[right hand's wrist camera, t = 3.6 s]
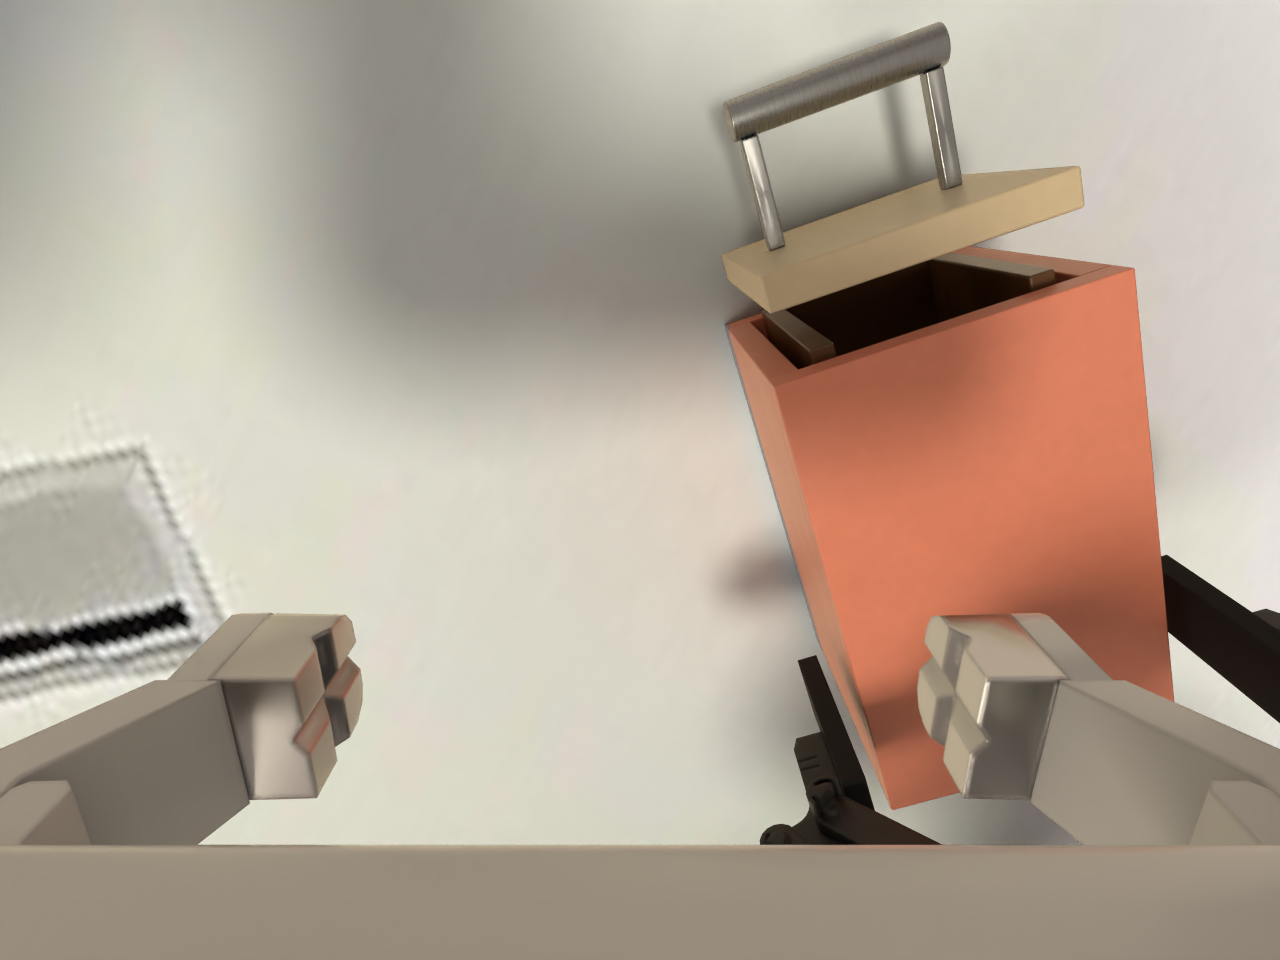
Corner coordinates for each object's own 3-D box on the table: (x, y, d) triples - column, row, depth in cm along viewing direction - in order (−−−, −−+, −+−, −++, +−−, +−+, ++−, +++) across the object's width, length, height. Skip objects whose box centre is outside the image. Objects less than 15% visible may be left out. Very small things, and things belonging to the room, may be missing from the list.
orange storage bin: (724, 324, 33) (772, 386, 22) (960, 244, 32) (1135, 266, 21) (817, 639, 39) (891, 811, 28) (1018, 580, 38) (1178, 735, 27)
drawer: (683, 126, 29) (709, 92, 20) (919, 38, 28) (1058, -39, 19) (813, 575, 36) (874, 700, 27) (1003, 518, 36) (1133, 627, 26)
